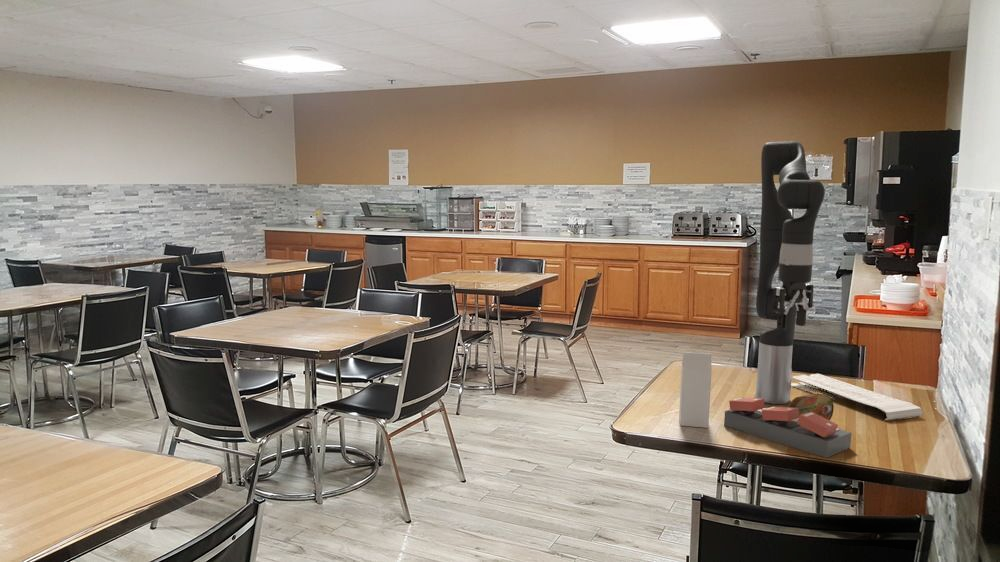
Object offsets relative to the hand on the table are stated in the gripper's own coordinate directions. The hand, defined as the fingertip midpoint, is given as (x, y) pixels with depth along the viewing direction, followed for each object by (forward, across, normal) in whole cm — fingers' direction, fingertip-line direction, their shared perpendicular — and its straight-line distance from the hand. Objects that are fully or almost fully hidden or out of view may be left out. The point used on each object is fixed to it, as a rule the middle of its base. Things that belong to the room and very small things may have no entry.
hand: (791, 327), depth 180 cm
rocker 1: (+22, +2, -9) cm, 24 cm away
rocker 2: (+22, +2, 0) cm, 22 cm away
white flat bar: (+29, -47, -7) cm, 55 cm away
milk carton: (+28, +11, -20) cm, 36 cm away
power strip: (+28, 0, 0) cm, 28 cm away
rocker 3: (+22, +2, +10) cm, 24 cm away
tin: (+28, -14, -1) cm, 31 cm away
